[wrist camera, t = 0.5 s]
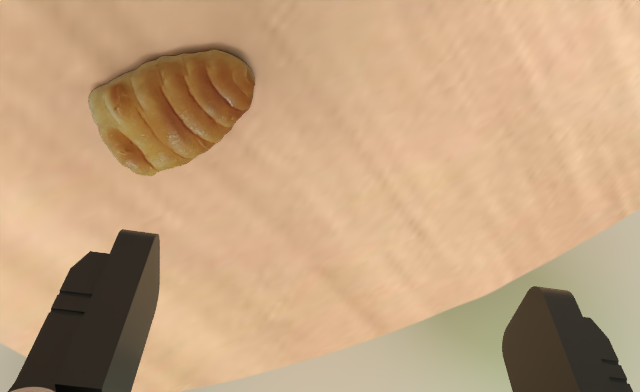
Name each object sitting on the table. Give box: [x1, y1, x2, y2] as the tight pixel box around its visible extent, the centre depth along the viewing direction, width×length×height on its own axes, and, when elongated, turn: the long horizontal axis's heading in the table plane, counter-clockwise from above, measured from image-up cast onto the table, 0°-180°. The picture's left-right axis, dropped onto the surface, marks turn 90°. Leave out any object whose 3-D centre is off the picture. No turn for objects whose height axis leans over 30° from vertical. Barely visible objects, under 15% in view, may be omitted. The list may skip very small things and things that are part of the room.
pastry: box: [88, 49, 255, 176], centre depth 34 cm, size 9×7×4 cm
